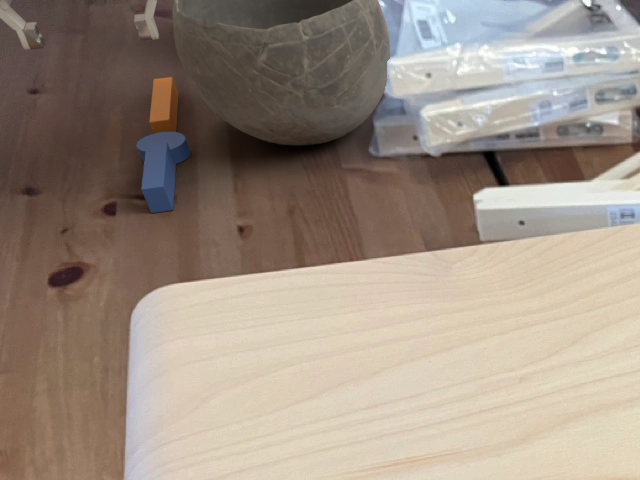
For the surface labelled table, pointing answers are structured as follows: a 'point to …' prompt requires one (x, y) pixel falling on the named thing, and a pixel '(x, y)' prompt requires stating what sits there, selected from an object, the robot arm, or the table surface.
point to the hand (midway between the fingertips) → (93, 42)
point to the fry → (164, 106)
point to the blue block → (161, 167)
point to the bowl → (285, 64)
